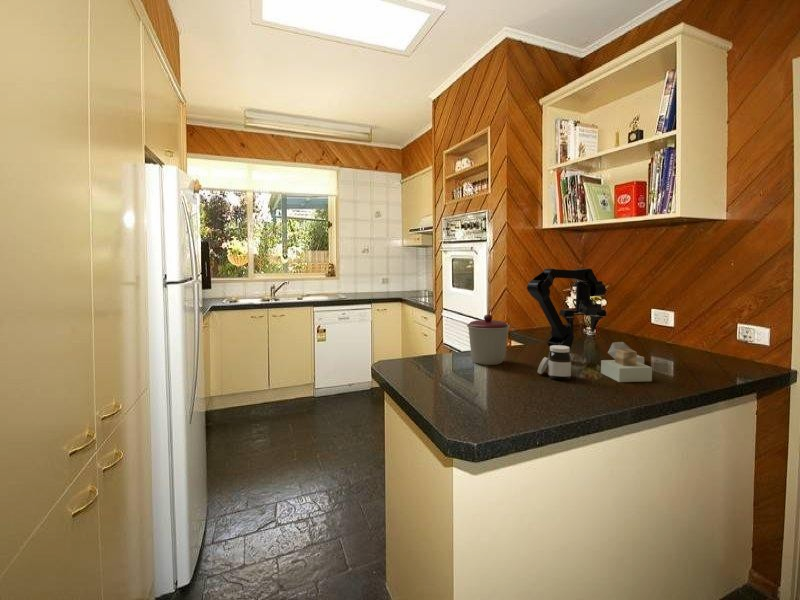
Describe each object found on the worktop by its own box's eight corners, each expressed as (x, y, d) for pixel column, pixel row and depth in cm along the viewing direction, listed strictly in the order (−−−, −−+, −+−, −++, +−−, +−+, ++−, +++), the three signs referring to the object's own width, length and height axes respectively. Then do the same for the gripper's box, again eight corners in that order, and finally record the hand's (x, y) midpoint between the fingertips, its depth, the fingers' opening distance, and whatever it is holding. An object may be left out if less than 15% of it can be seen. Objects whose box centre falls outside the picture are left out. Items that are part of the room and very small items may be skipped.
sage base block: (619, 382, 142) (619, 368, 141) (600, 372, 154) (601, 360, 153) (651, 381, 142) (652, 367, 142) (630, 372, 154) (631, 359, 154)
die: (632, 364, 168) (638, 344, 171) (614, 355, 167) (620, 335, 171) (618, 367, 175) (624, 348, 179) (602, 357, 175) (608, 338, 178)
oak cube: (623, 365, 145) (623, 352, 145) (615, 362, 150) (615, 349, 150) (636, 365, 145) (636, 351, 145) (628, 362, 150) (628, 349, 150)
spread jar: (572, 382, 143) (573, 350, 142) (540, 380, 145) (540, 349, 144) (566, 372, 155) (566, 343, 154) (535, 371, 157) (536, 342, 156)
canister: (458, 362, 173) (458, 314, 171) (483, 355, 185) (483, 310, 183) (493, 370, 159) (493, 318, 157) (517, 362, 171) (518, 314, 169)
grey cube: (631, 369, 158) (632, 357, 157) (624, 366, 163) (624, 354, 162) (643, 369, 158) (644, 357, 158) (635, 366, 163) (636, 354, 163)
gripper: (571, 299, 166) (570, 335, 167) (614, 298, 167) (613, 334, 168) (559, 296, 177) (558, 331, 178) (600, 296, 178) (599, 330, 179)
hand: (582, 332), depth 176 cm, fingers open, 9 cm apart
